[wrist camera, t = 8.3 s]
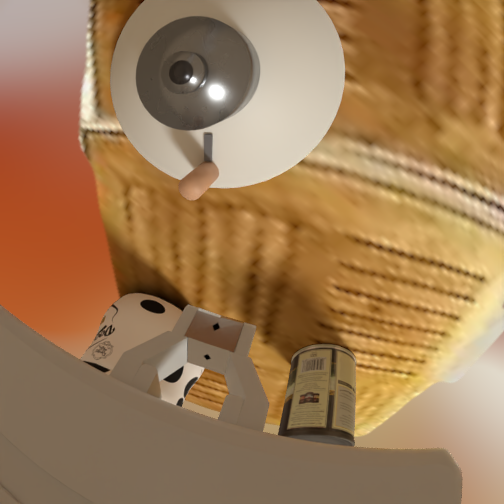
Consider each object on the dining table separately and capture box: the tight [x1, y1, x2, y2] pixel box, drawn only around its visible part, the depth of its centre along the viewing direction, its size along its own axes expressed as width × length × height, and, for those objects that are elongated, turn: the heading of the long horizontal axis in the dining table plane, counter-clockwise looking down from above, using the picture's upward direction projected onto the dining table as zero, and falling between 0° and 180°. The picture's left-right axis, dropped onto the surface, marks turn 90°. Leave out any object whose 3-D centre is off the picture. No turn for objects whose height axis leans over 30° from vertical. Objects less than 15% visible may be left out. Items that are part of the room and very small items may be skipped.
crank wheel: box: [110, 0, 345, 200], centre depth 19 cm, size 21×21×6 cm
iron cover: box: [136, 16, 260, 131], centre depth 18 cm, size 9×9×5 cm
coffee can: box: [278, 344, 356, 447], centre depth 35 cm, size 10×10×14 cm
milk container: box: [80, 293, 204, 407], centre depth 37 cm, size 17×17×18 cm
